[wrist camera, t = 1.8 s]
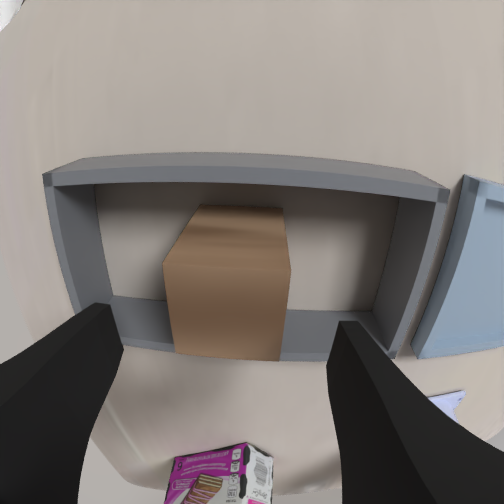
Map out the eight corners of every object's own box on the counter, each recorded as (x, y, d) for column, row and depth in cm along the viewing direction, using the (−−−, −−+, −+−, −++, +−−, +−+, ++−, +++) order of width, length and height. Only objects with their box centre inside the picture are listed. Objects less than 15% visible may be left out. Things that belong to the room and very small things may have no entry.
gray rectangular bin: (377, 318, 17) (394, 358, 14) (107, 302, 18) (83, 336, 14) (414, 171, 13) (450, 189, 10) (82, 158, 13) (42, 173, 10)
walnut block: (276, 278, 16) (279, 361, 11) (203, 274, 16) (175, 353, 11) (282, 208, 14) (291, 271, 9) (200, 204, 14) (162, 263, 9)
